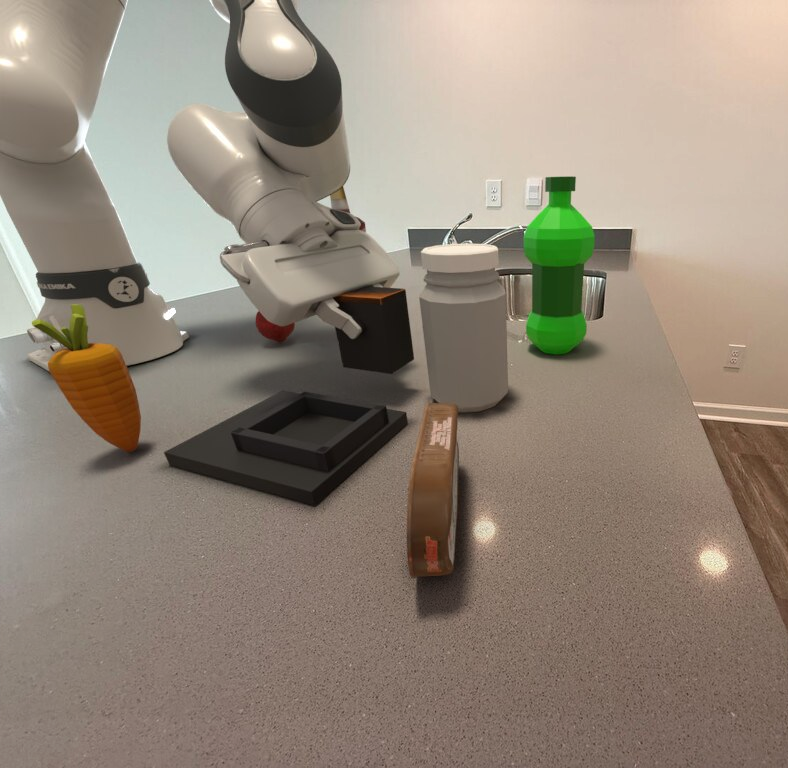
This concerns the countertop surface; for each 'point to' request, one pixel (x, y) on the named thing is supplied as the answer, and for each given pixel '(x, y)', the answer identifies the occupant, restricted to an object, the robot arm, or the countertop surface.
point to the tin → (434, 493)
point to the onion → (273, 329)
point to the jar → (464, 325)
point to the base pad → (291, 444)
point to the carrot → (95, 382)
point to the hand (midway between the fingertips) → (377, 326)
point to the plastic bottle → (558, 270)
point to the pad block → (376, 330)
